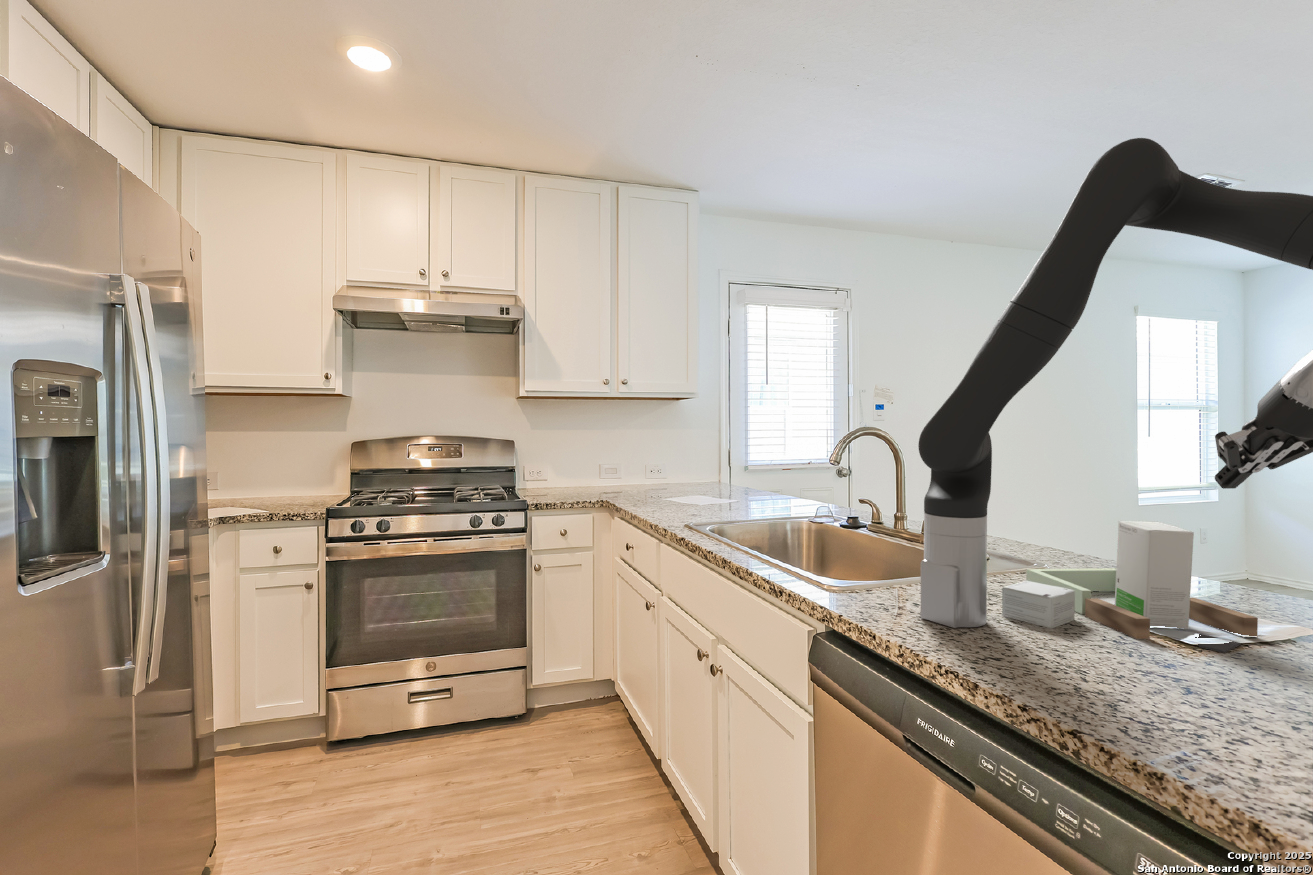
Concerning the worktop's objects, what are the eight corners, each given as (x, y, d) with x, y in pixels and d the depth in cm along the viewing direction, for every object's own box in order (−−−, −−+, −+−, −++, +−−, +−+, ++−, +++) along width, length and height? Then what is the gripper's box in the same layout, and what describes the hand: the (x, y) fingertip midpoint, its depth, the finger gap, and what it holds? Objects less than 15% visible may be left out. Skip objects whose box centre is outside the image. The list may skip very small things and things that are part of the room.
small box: (1025, 608, 104) (1025, 579, 104) (1076, 621, 98) (1076, 589, 98) (1000, 616, 100) (1000, 586, 100) (1051, 630, 94) (1052, 597, 94)
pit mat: (1224, 653, 83) (1224, 650, 83) (1179, 641, 88) (1179, 639, 88) (1240, 644, 86) (1240, 642, 86) (1196, 634, 91) (1196, 632, 91)
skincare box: (1113, 612, 102) (1114, 520, 101) (1156, 613, 101) (1157, 520, 100) (1146, 628, 93) (1147, 528, 93) (1194, 630, 92) (1195, 529, 92)
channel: (1257, 637, 89) (1257, 617, 89) (1136, 639, 89) (1136, 618, 89) (1193, 615, 100) (1193, 597, 100) (1085, 616, 99) (1085, 598, 99)
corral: (1186, 613, 101) (1186, 589, 101) (1082, 614, 101) (1082, 590, 100) (1117, 589, 116) (1117, 568, 116) (1026, 589, 116) (1026, 569, 115)
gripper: (1350, 371, 75) (1251, 463, 87) (1244, 371, 75) (1160, 464, 87) (1403, 412, 70) (1289, 504, 82) (1289, 413, 70) (1193, 505, 82)
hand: (1223, 483), depth 85 cm, fingers closed
